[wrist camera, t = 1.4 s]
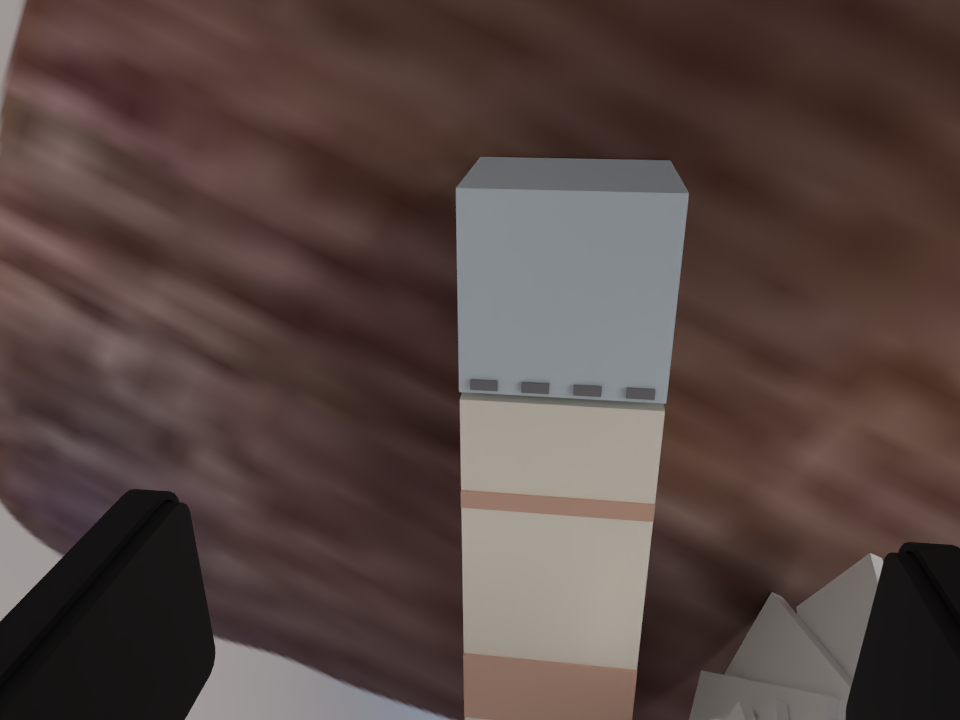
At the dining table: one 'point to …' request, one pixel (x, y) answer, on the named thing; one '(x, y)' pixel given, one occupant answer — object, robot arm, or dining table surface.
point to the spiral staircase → (796, 655)
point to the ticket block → (555, 553)
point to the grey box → (569, 277)
